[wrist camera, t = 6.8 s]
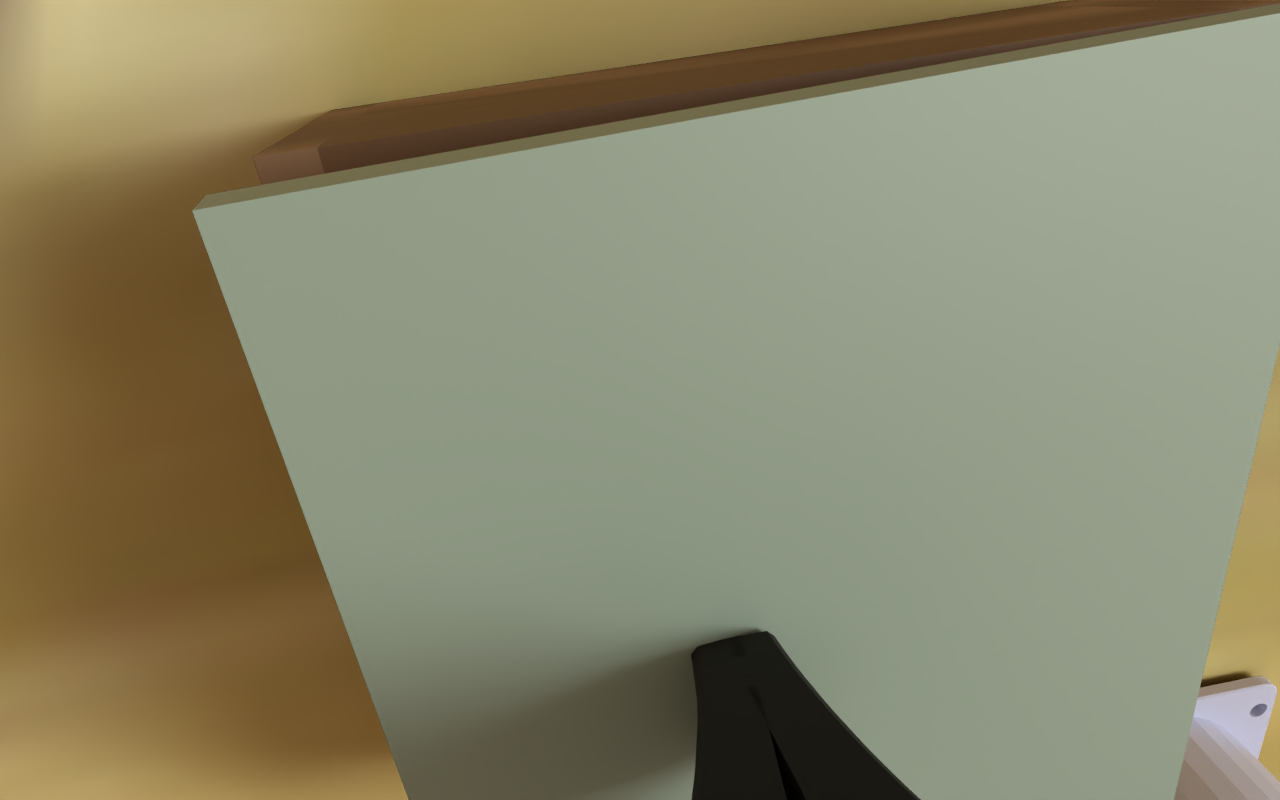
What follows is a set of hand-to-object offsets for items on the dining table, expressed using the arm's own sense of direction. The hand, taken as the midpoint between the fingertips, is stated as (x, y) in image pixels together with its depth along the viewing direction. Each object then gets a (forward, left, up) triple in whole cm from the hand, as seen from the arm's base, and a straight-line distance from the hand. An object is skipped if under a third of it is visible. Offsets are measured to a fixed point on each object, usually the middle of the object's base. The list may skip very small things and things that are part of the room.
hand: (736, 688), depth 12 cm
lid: (0, -2, -1) cm, 2 cm away
